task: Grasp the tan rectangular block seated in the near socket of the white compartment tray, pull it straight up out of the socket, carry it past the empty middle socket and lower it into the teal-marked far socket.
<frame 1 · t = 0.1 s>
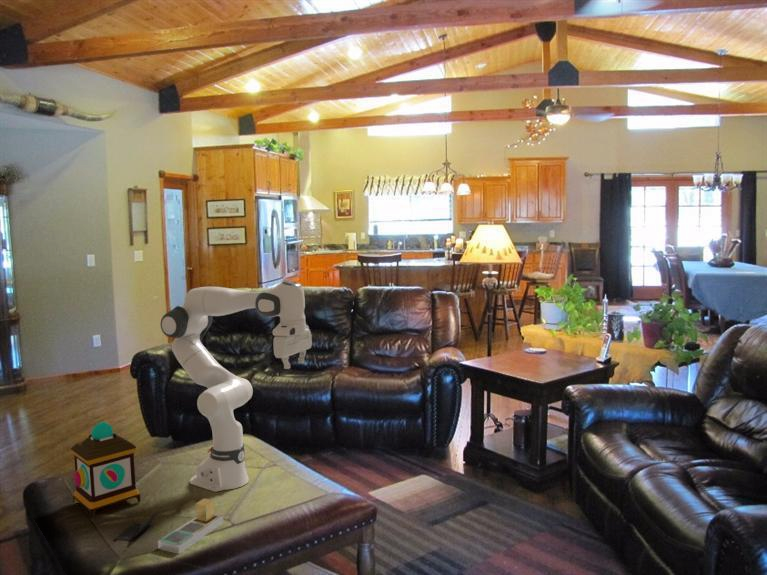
hand: (294, 365, 221), 48 cm above the table, fingers open, 8 cm apart
white compartment tray: (192, 536, 197), on the table
decorative lantern: (107, 504, 222), on the table
tan rectangular block: (206, 525, 203), point 1 cm above the table, touching white compartment tray
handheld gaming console: (137, 535, 200), on the table
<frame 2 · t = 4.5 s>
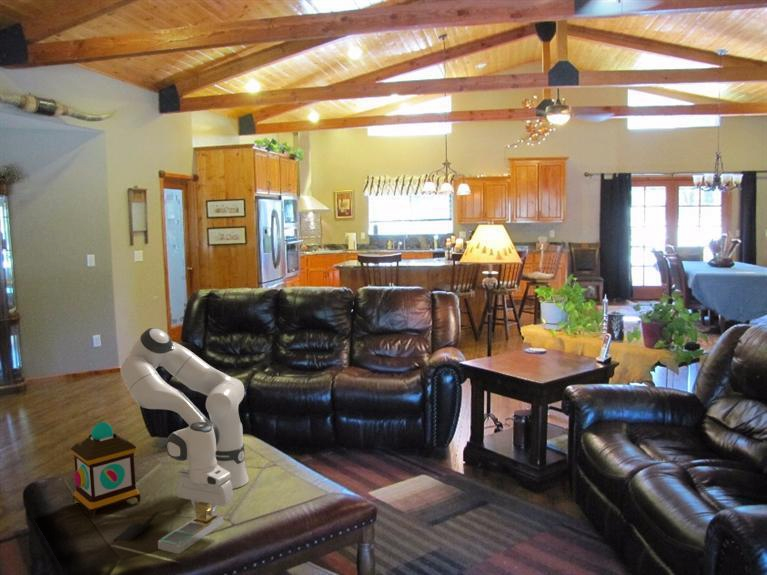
hand: (205, 513, 203), 5 cm above the table, fingers closed on tan rectangular block, 4 cm apart
tan rectangular block: (206, 525, 203), point 1 cm above the table, touching gripper, white compartment tray
everything else where it was.
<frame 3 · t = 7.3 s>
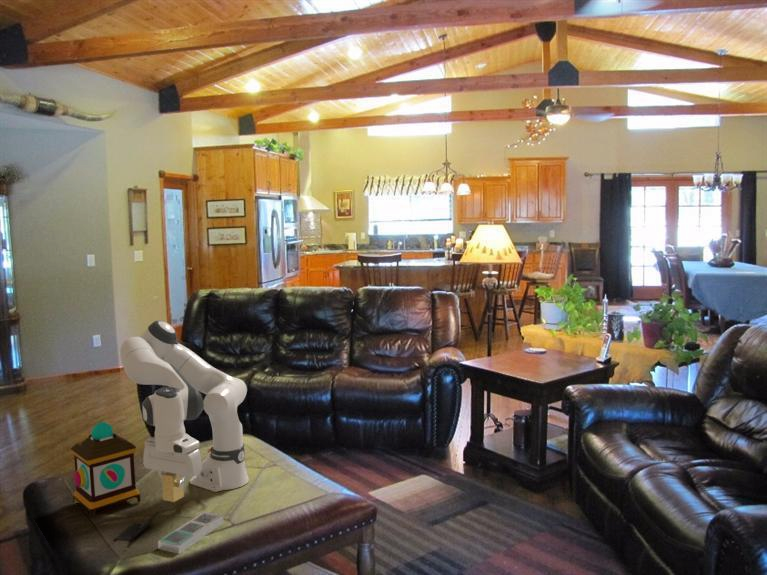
hand: (173, 485, 190), 19 cm above the table, fingers closed on tan rectangular block, 4 cm apart
tan rectangular block: (173, 498, 190), point 15 cm above the table, touching gripper
everything else where it was.
when the fingers open (6 cm above the table, at t = 9.8 s): tan rectangular block stays where it is, resting on white compartment tray.
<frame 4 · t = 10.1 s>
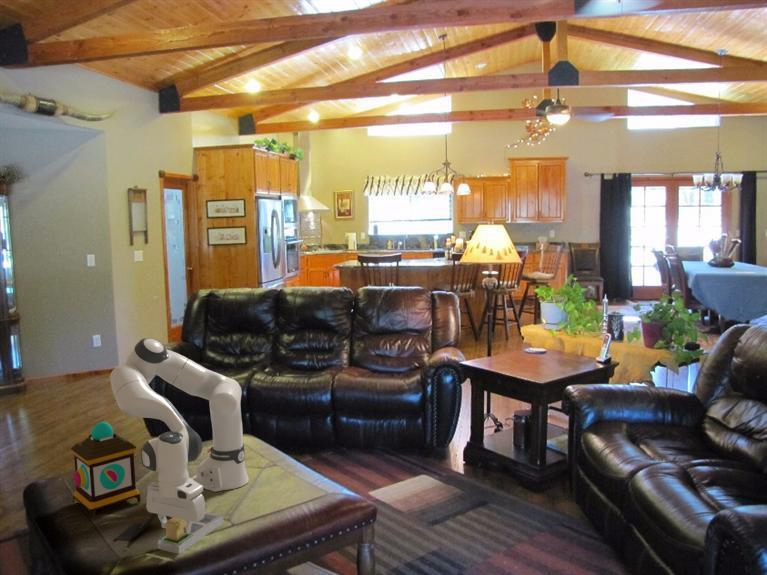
hand: (176, 529, 190), 6 cm above the table, fingers open, 7 cm apart
tan rectangular block: (177, 545, 191), point 1 cm above the table, touching white compartment tray
everything else where it was.
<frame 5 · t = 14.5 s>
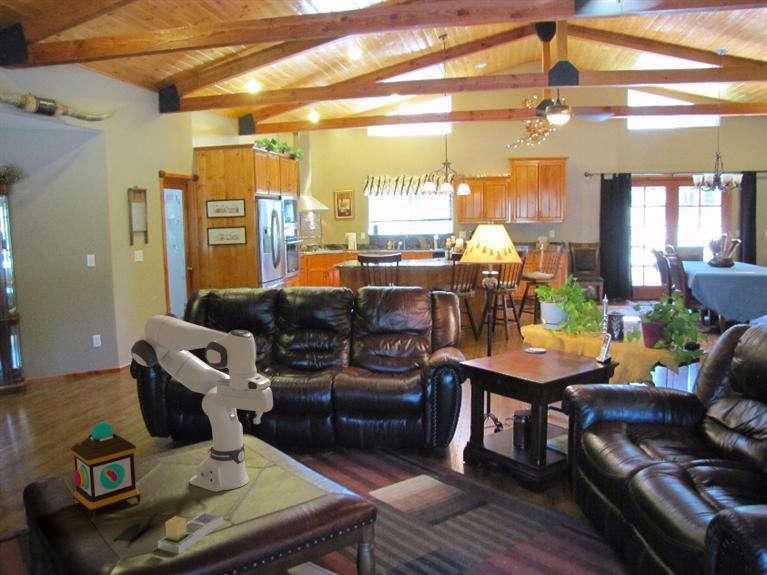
hand: (244, 421, 203), 34 cm above the table, fingers open, 8 cm apart
nothing on the table moved.
at the end: tan rectangular block 0.1 cm from the target spot on the white compartment tray, point 0.6 cm above the white compartment tray's base; tan rectangular block tilted 0°; the gripper is holding nothing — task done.
